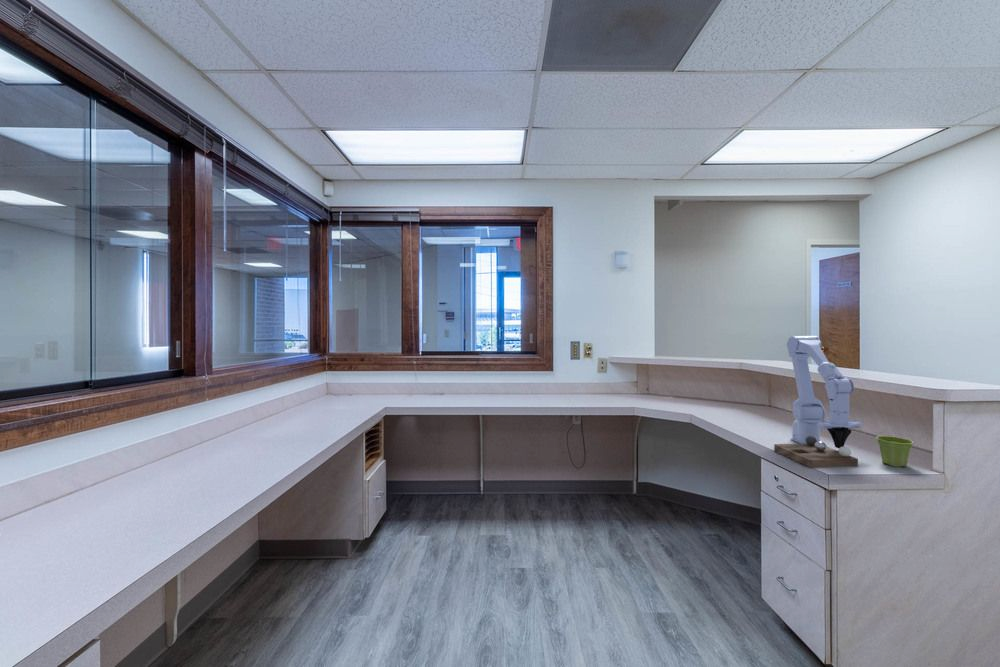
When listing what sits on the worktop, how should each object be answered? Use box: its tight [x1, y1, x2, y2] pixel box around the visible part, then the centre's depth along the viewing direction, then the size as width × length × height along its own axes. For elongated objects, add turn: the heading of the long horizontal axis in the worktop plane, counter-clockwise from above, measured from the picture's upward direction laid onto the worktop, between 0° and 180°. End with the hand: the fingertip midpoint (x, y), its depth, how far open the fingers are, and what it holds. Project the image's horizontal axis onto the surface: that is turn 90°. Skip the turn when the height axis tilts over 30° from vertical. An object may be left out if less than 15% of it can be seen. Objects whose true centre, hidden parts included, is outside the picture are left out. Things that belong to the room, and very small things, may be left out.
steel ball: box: [814, 440, 827, 451], centre depth 151 cm, size 4×4×4 cm
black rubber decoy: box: [806, 436, 817, 446], centre depth 158 cm, size 4×4×4 cm
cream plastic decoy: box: [837, 445, 852, 457], centre depth 145 cm, size 4×4×4 cm
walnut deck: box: [773, 443, 859, 468], centre depth 151 cm, size 18×17×2 cm
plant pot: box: [875, 435, 914, 467], centre depth 143 cm, size 9×9×9 cm
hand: (839, 447), depth 151 cm, fingers closed
